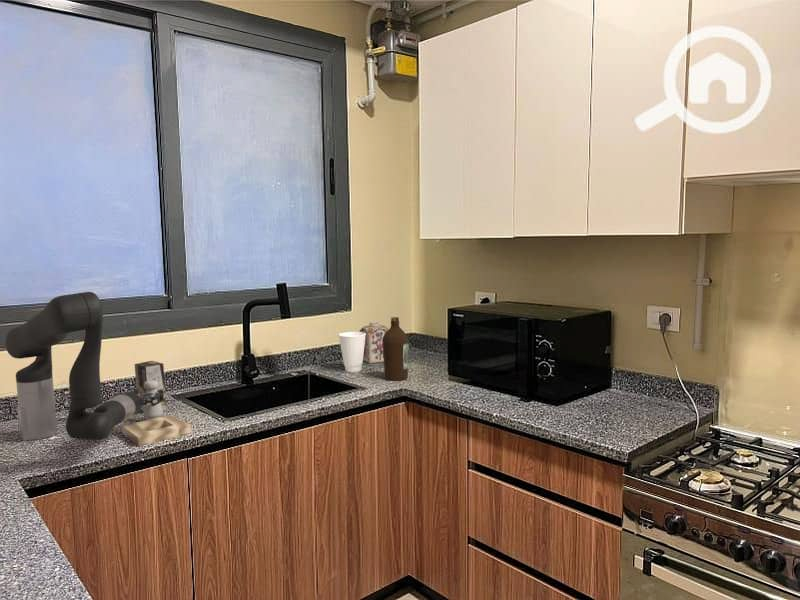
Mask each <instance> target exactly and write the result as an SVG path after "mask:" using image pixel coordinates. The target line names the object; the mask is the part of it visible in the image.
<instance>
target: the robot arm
mask: <svg viewBox="0 0 800 600" xmlns="http://www.w3.org/2000/svg"><path fill="white" fill-rule="evenodd" d="M102 306H103V305H102V303H101V300H100V298H99V296H98V295H97V294H96V293H95V292H93V291H83V292H76V293H72V294H71V293H70V294H63V295H59V296H56V297H54V298H52V299H51V300H49V302H48V303H47V304H46V306H45V307H44V309H43V310H40V312H38V313H37V314H35V315H34V316H33V317H31V318H30V319H29V320H28V321H26V322H24V323H23V324H22V325H20V326H17V327H13V328H11V329H10V330H9V331H8V332H7V335H6V337H5V342H4V343H5V349H6V351H7V353H8V354H9V356H11V357H12V358H14V359H29V358H34V357H35V360H33V361H32V362H31V363H30V364H29V365H27V366H25V367H23V368H21V369H19V370H17V371H16V373H15V382H16V394H17V416H18V417H17V419H18V427H19V436H20V438H21V439H22V441H23V442H25V441H35V440H41V439H46V438H49V437H52V436H54V435H56V434H58V423H57V412H56V401H55V399H56V398H55V391H54V390H55V389H54V380H53V379H54V378H53V360H52V359H53V358H52V357H53V356H52V355H53V354H52V351H53V350H52V346H55V345H57V344H59V343H60V342H62V341H64V340H65V339H66V337H67V336H68V335H69V333H74V332H75V333H76V332H79V331H81V332H82V331H85V336H84V340H83V344H82V346H81V349H80V351H79V352H78V354H77V357H76V359H75V360H74V363H73V364H72V367H71V369H70V372H69V377H68V386H69V394H70V395H69V396H70V402H69V409H68V414H67V418H66V423H65V431H66V433H67V435H68V437H70V438H72V439H75V440H87V441H88V440H89V441H101V440H102V441H103V440H104V439H106V438H108V437H109V435H110V433H111V432H112V430H114V428H115V427H116V426H118V425H119V424H121V423H124V422H126V421H127V420H129V419H131V418H133V417H134V416H136V415H137V414H138V413H140V411H142V410H141V408H142V407H143V406H144V405H149V404H151V405H152V406H155V405H157V404H159V403H161V402H163V401H164V391H163V390H159V391H157V392H155V393H149V392H148V393H144V394H137V389H133V390H130V391H129V390H126V391H124V392H119V393H117V394H115V395H113V396H112V397H110V399H108V401H105V402H104V403H102V404H100V403H101V402H102V399H103V398H102V387H101V374H100V373H101V372H100V362H101V351H102V350H101V349H102V339H103V338H102V337H103V324H104V313H103V307H102ZM147 395H148V399H147V397H146V396H147ZM153 395H155V396H153ZM99 404H100V405H99ZM95 407H96V408H95ZM91 408H95V409H94V410H93V411H91V412H90V411H87V409H91Z"/></svg>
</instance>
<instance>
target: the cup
mask: <svg viewBox="0 0 800 600" xmlns="http://www.w3.org/2000/svg"><path fill="white" fill-rule="evenodd" d="M365 335H366V333H363V332H359V331H347V332H340V333H339V334H338V339H339V344H340V350H341V355H342V356H341V357H342V362H343V365H344V369H345V371H346V372H349V373H355V372H356V373H357V372H361V371H362V365H363V362H364V361H363V354H364V345H365Z"/></svg>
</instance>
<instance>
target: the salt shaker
mask: <svg viewBox="0 0 800 600" xmlns="http://www.w3.org/2000/svg"><path fill="white" fill-rule="evenodd" d="M157 387H158V382H157V381H156V380H149V381H146V382H145V383H144V388H145V389H146V393H148V392H149V393H155V392H157ZM153 396H155V395H153ZM146 397H147V399H148V395H147V396H146ZM142 412H143V413H142V414H143V417H144V419H145V420H150V419H154V418H159V417H163V414H164V410H162V406H161V403H159V404H157V405H155V406H152V405H151V404H149V405H144V411H142Z"/></svg>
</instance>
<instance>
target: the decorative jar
mask: <svg viewBox="0 0 800 600" xmlns="http://www.w3.org/2000/svg"><path fill="white" fill-rule="evenodd" d="M389 329H390V328H389V327H388V326H387V325H381V324H380V322H379V321H372V322H369V325H365V326H362V327H361V329H359V331H358V332H363V333H366V335H365V345H364V354H363V362H366V363H368V364H377V363H384V356H383V344H382V340H383V336H384V335H385V333H386V332H387V331H388V330H389Z"/></svg>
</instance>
